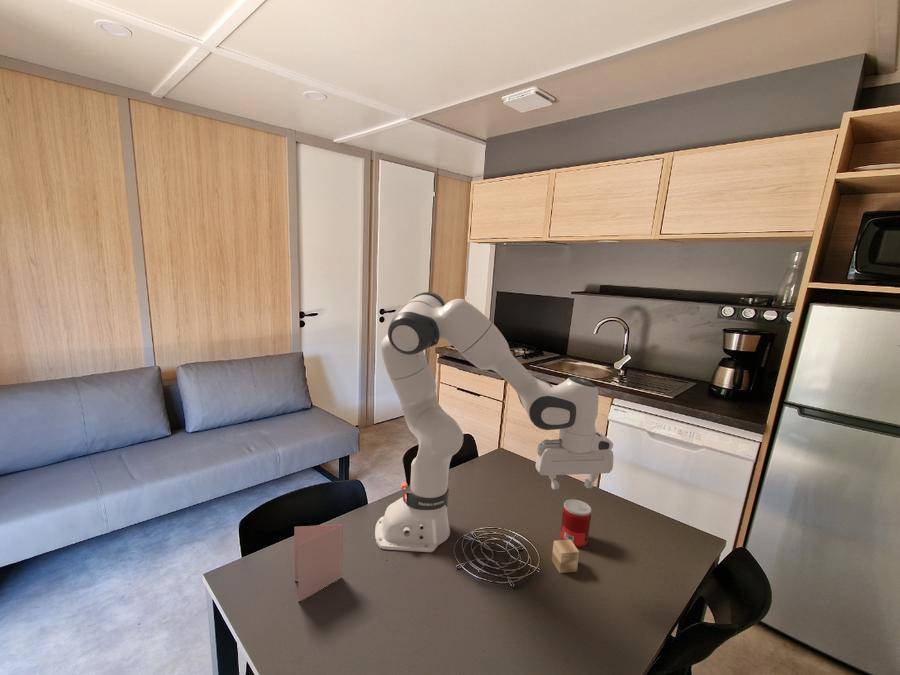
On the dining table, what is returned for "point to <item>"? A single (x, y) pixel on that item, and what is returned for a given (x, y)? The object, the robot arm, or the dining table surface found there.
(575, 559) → the oak block
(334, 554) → the greeting card
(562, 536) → the canned food
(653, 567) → the dining table surface
